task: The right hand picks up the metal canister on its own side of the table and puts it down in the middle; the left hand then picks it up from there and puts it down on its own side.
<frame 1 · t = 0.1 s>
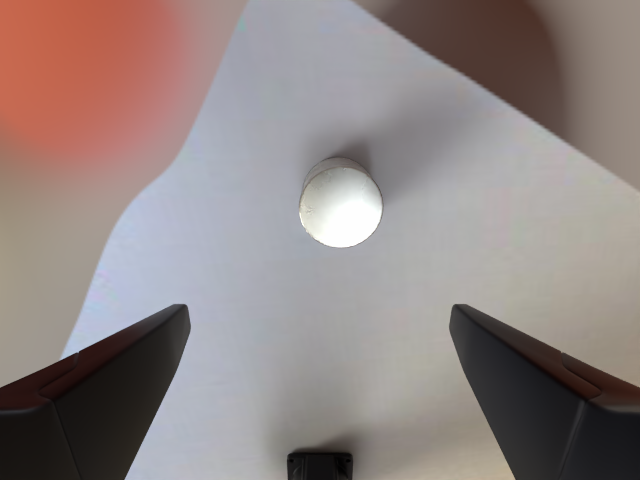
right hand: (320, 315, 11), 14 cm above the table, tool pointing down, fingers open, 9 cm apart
canister: (337, 192, 25), on the table
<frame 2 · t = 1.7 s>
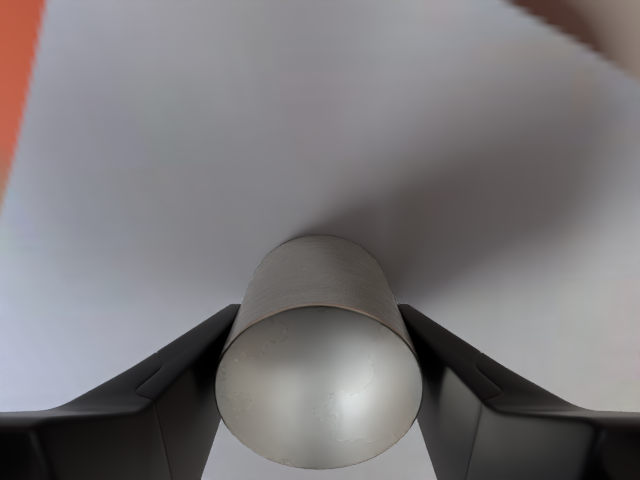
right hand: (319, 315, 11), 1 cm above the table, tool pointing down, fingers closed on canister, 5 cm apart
canister: (319, 299, 12), on the table, touching right hand
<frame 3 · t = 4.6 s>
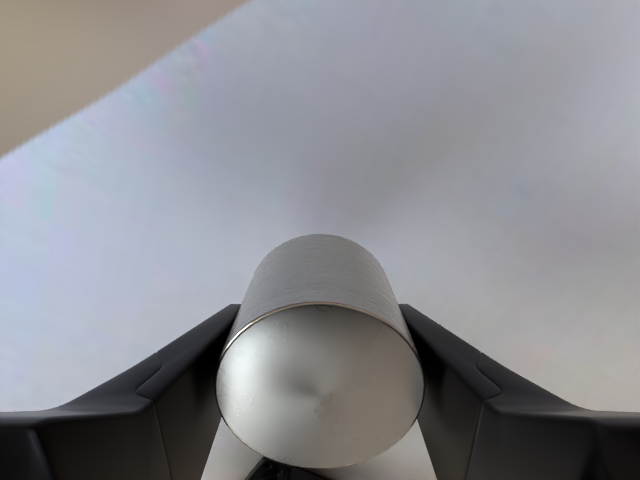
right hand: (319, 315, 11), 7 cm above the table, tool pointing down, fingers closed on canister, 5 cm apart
canister: (319, 299, 12), point 6 cm above the table, touching right hand
when the right hand's fingers open (2 cm above the table, at t = 7.8 s): canister drops 1 cm, on the table.
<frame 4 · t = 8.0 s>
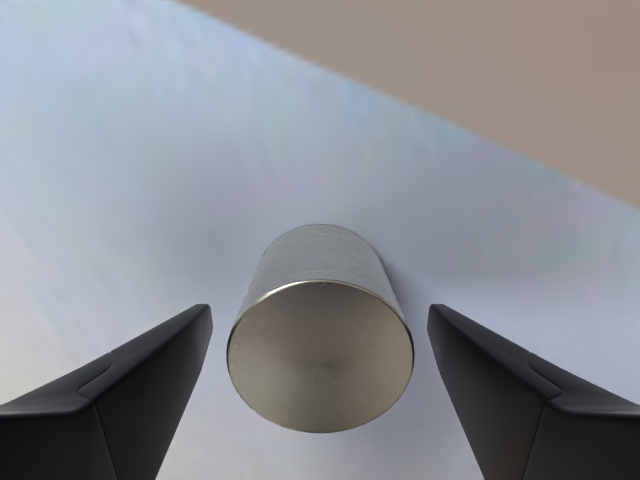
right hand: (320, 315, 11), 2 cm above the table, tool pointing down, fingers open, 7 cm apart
canister: (320, 285, 13), on the table
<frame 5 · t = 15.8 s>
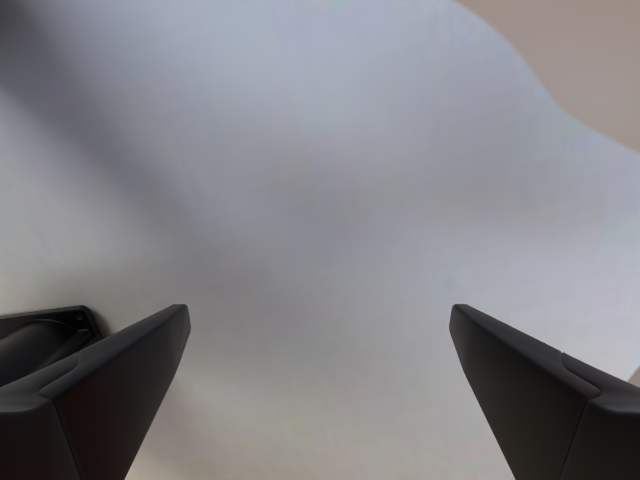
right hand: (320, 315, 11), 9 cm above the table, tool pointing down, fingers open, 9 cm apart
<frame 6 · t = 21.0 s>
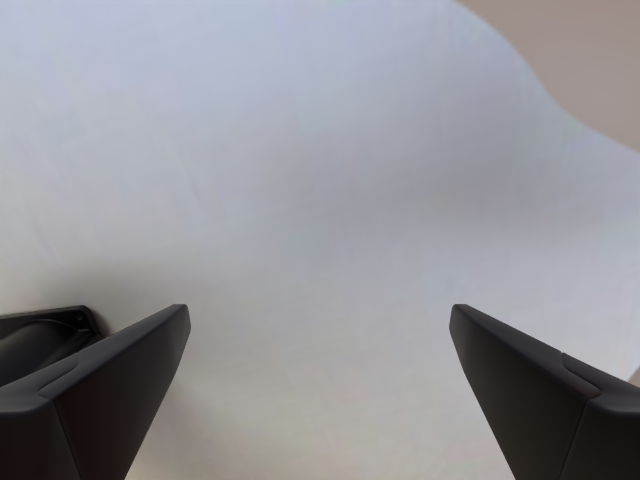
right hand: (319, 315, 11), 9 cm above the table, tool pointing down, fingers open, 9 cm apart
when the left hand's fingers open (1 cm above the table, at t = 26.0 s): canister stays where it is, on the table.
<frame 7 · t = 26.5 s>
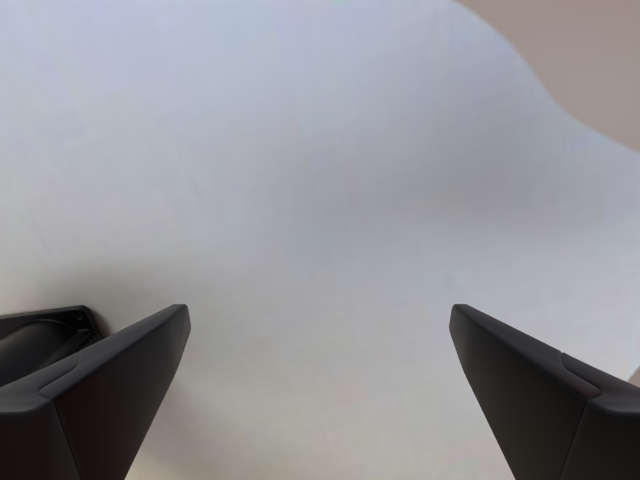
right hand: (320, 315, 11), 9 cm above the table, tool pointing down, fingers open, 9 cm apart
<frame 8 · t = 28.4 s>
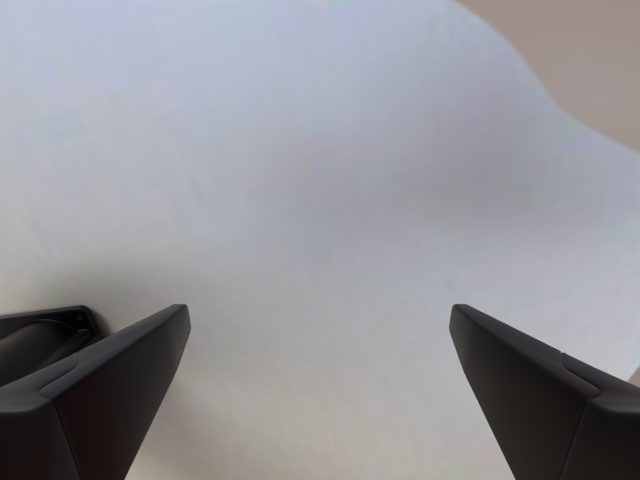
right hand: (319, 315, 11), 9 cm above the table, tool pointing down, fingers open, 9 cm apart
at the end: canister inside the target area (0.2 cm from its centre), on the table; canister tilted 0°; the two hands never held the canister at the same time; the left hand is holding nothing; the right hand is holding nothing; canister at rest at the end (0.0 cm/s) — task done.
